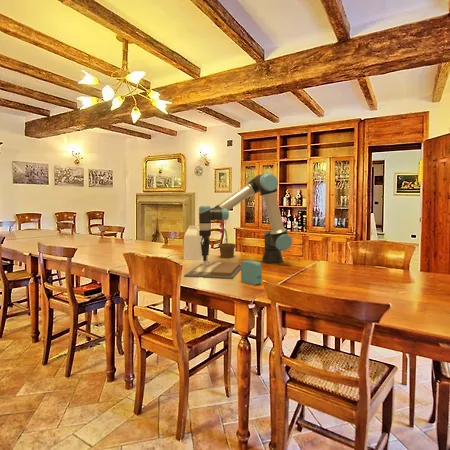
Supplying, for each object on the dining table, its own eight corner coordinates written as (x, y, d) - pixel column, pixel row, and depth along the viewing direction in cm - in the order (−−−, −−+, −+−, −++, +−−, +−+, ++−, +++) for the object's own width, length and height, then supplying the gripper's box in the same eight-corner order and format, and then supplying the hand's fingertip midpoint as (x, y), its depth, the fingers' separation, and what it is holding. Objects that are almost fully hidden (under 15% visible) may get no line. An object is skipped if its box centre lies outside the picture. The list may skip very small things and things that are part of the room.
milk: (183, 259, 259) (182, 226, 256) (189, 257, 270) (188, 224, 267) (197, 260, 255) (197, 226, 253) (203, 257, 266) (202, 225, 264)
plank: (222, 265, 231) (222, 262, 230) (210, 275, 202) (210, 271, 201) (205, 264, 233) (205, 261, 233) (191, 274, 204) (191, 271, 204)
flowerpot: (216, 256, 271) (215, 219, 269) (232, 255, 276) (232, 218, 273) (221, 259, 258) (220, 220, 255) (238, 258, 262) (238, 220, 260)
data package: (262, 284, 184) (261, 262, 183) (256, 285, 181) (256, 263, 180) (246, 280, 193) (246, 259, 192) (240, 281, 190) (240, 260, 189)
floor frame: (243, 266, 230) (243, 262, 230) (232, 279, 196) (232, 273, 196) (201, 265, 237) (201, 261, 237) (184, 276, 203) (184, 271, 203)
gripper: (202, 228, 224) (203, 263, 226) (196, 230, 212) (196, 267, 214) (213, 228, 223) (213, 263, 225) (207, 230, 210) (208, 267, 212)
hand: (205, 265), depth 219 cm, fingers closed
